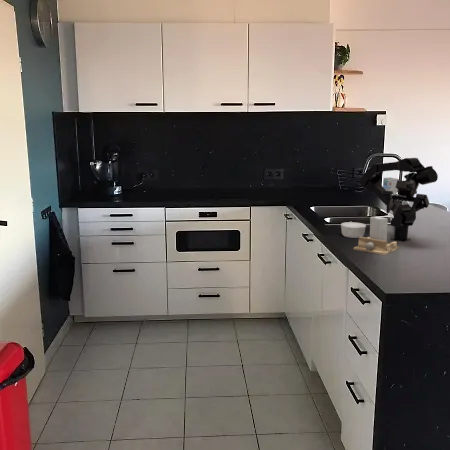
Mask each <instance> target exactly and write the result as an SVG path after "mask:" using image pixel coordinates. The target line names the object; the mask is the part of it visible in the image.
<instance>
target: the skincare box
mask: <svg viewBox="0 0 450 450" xmlns="http://www.w3.org/2000/svg"><path fill="white" fill-rule="evenodd" d="M388 219H389V218H387V217H383V216H371V217H369V221H370V222H369V237H370V238H372V239H377V240H383V241H387V242H388V224H389V221H388Z"/></svg>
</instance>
